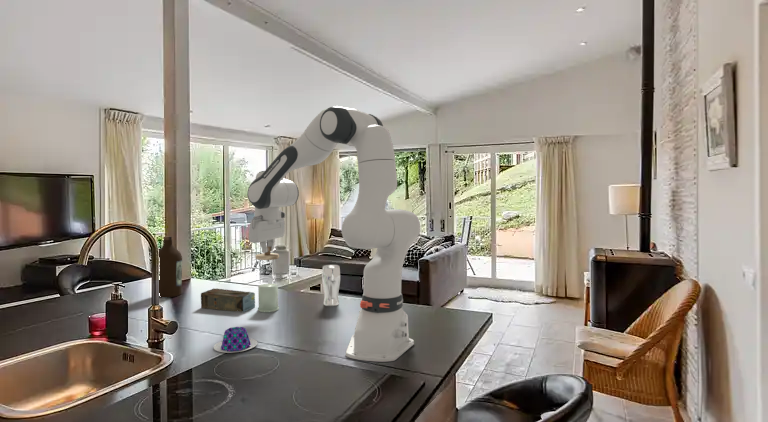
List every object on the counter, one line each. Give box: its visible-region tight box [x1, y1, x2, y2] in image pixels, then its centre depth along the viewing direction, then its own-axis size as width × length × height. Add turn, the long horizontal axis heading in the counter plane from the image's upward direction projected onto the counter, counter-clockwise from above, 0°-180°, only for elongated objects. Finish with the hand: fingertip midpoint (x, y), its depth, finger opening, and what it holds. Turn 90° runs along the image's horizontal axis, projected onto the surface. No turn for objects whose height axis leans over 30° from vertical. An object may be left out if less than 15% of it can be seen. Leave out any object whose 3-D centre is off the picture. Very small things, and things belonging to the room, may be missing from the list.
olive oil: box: [158, 235, 183, 298], centre depth 188 cm, size 11×11×25 cm
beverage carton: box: [200, 288, 256, 313], centre depth 168 cm, size 8×19×7 cm, turn 73°
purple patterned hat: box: [213, 326, 258, 354], centre depth 127 cm, size 12×12×5 cm
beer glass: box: [321, 264, 341, 307], centre depth 173 cm, size 7×7×15 cm
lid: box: [255, 246, 280, 261], centre depth 165 cm, size 8×8×4 cm
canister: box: [257, 283, 280, 313], centre depth 165 cm, size 8×8×9 cm
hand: (267, 251), depth 165 cm, fingers closed on lid, 2 cm apart
